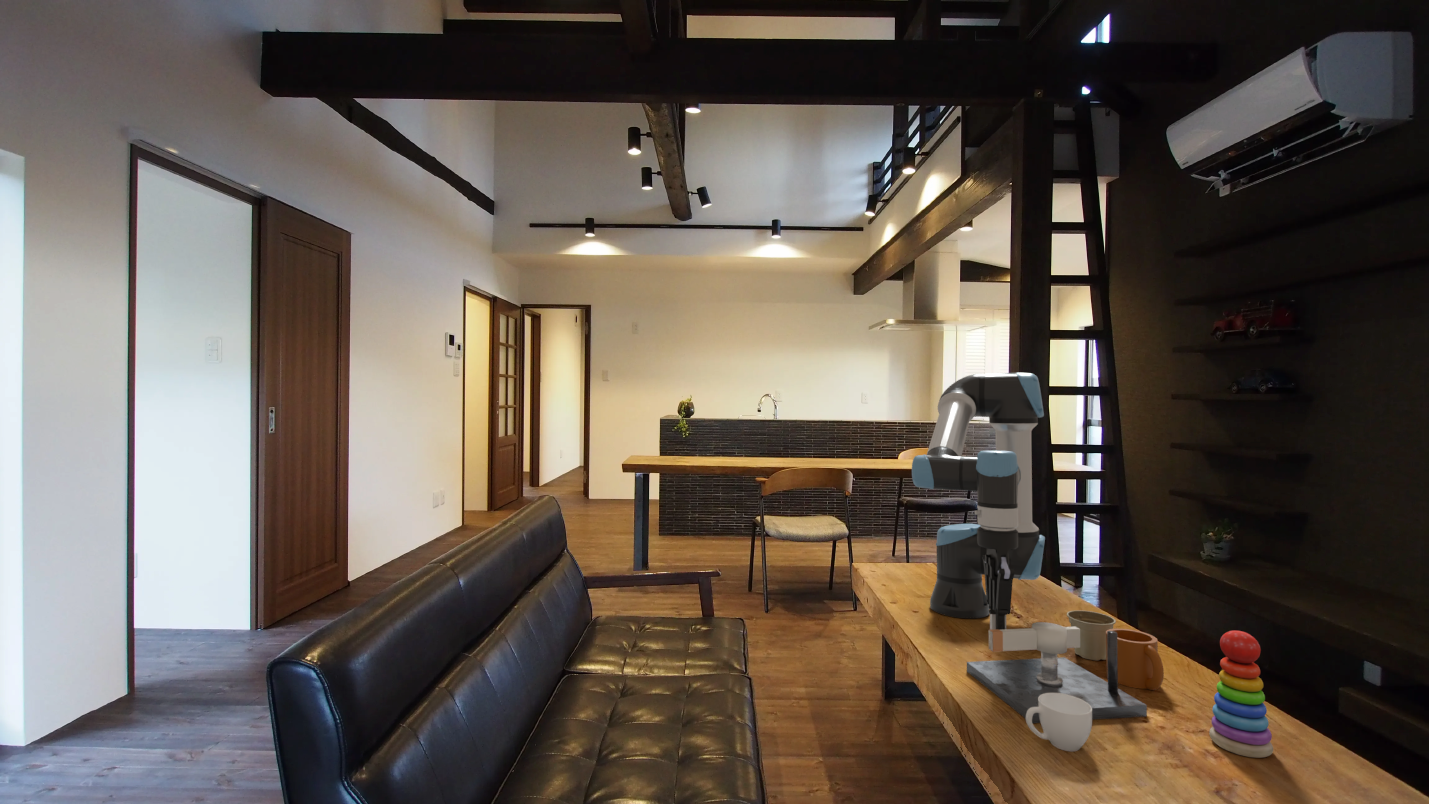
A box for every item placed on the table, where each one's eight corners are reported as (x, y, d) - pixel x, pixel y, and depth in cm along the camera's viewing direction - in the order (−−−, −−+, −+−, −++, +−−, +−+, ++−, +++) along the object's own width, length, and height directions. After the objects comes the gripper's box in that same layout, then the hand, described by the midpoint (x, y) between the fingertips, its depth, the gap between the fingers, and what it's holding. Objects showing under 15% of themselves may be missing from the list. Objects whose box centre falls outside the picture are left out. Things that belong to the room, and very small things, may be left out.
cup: (1102, 758, 98) (1102, 714, 98) (1037, 756, 99) (1037, 713, 99) (1076, 733, 106) (1076, 692, 106) (1016, 731, 106) (1016, 691, 107)
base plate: (966, 671, 131) (966, 609, 131) (1064, 666, 134) (1063, 605, 134) (1031, 723, 109) (1030, 648, 110) (1146, 716, 112) (1145, 642, 112)
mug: (1128, 695, 120) (1127, 648, 121) (1098, 670, 132) (1096, 627, 132) (1179, 697, 119) (1177, 649, 119) (1144, 672, 131) (1142, 628, 131)
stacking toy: (1196, 735, 105) (1195, 623, 106) (1240, 733, 106) (1239, 621, 106) (1240, 761, 97) (1238, 640, 98) (1287, 759, 98) (1285, 638, 98)
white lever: (1067, 641, 125) (1067, 621, 125) (1088, 652, 119) (1088, 631, 119) (982, 644, 123) (982, 624, 123) (999, 656, 117) (999, 635, 117)
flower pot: (1123, 665, 134) (1123, 625, 134) (1075, 662, 136) (1075, 622, 136) (1105, 649, 143) (1105, 611, 144) (1060, 646, 145) (1060, 609, 145)
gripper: (969, 521, 133) (970, 633, 133) (986, 532, 120) (987, 656, 120) (1006, 522, 132) (1007, 634, 132) (1028, 534, 119) (1029, 658, 119)
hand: (998, 645), depth 126 cm, fingers closed
